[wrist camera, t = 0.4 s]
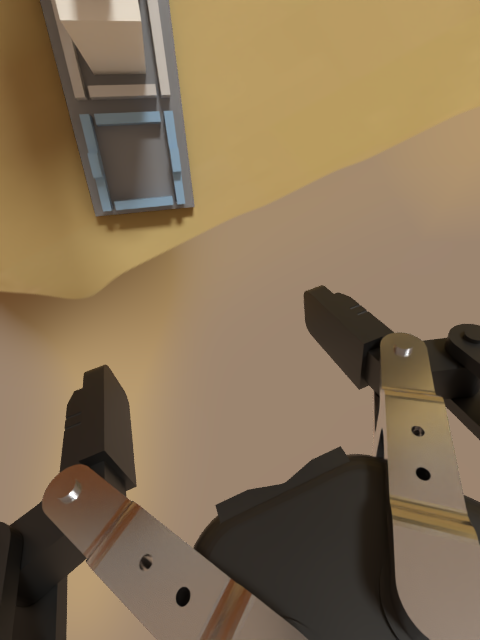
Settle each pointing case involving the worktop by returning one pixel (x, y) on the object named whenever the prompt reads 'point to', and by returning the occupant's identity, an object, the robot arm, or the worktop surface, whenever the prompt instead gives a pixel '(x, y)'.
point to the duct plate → (128, 120)
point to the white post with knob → (106, 34)
